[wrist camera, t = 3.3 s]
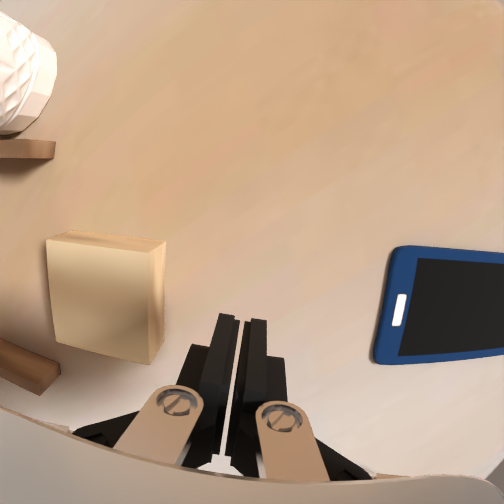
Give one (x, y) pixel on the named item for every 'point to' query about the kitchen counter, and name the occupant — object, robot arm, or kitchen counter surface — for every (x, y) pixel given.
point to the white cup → (23, 75)
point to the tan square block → (108, 293)
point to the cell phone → (441, 306)
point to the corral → (4, 353)
